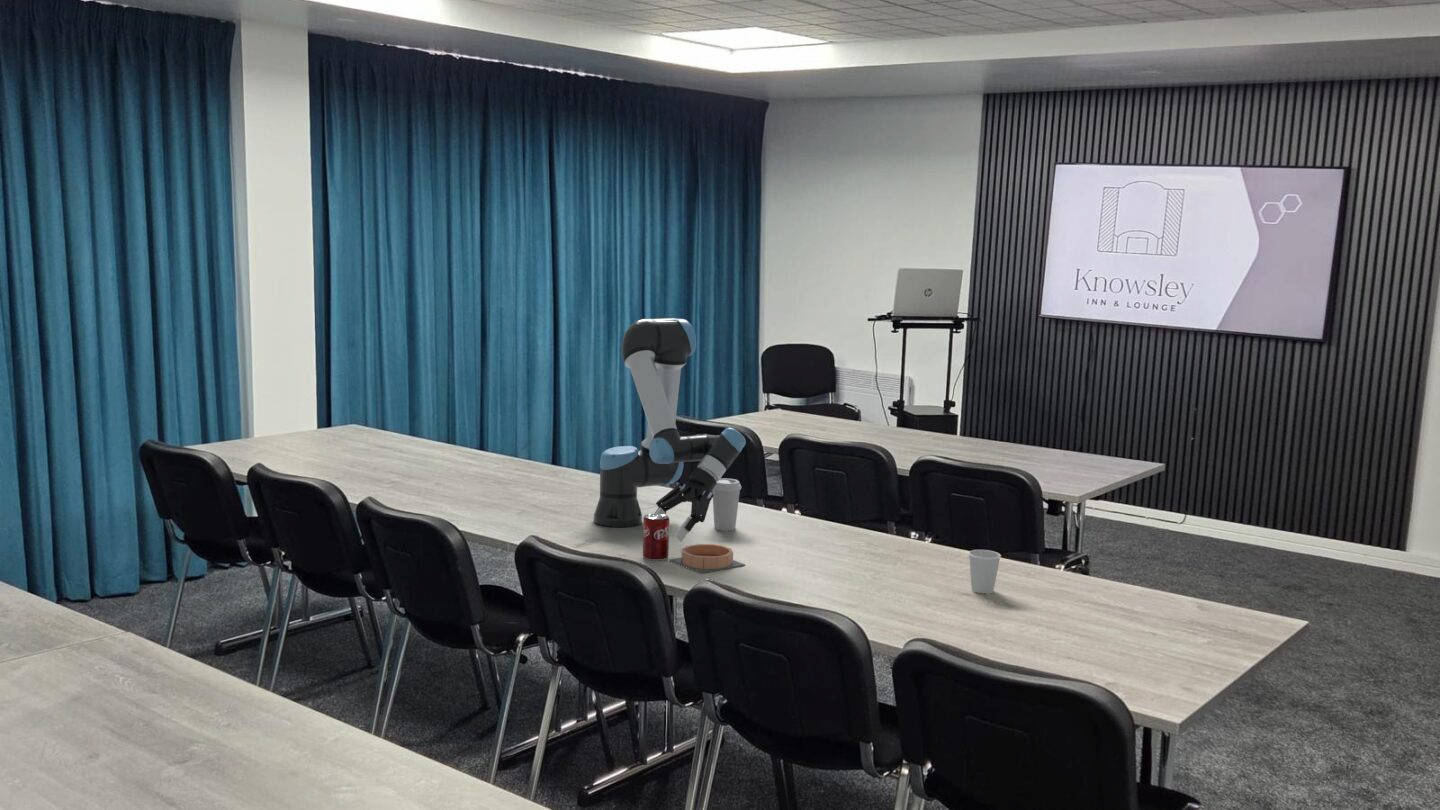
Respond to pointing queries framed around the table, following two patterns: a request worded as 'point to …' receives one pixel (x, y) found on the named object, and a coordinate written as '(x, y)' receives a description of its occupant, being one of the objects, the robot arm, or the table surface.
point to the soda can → (656, 537)
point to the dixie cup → (983, 570)
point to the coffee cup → (725, 503)
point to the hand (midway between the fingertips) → (663, 533)
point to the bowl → (707, 558)
